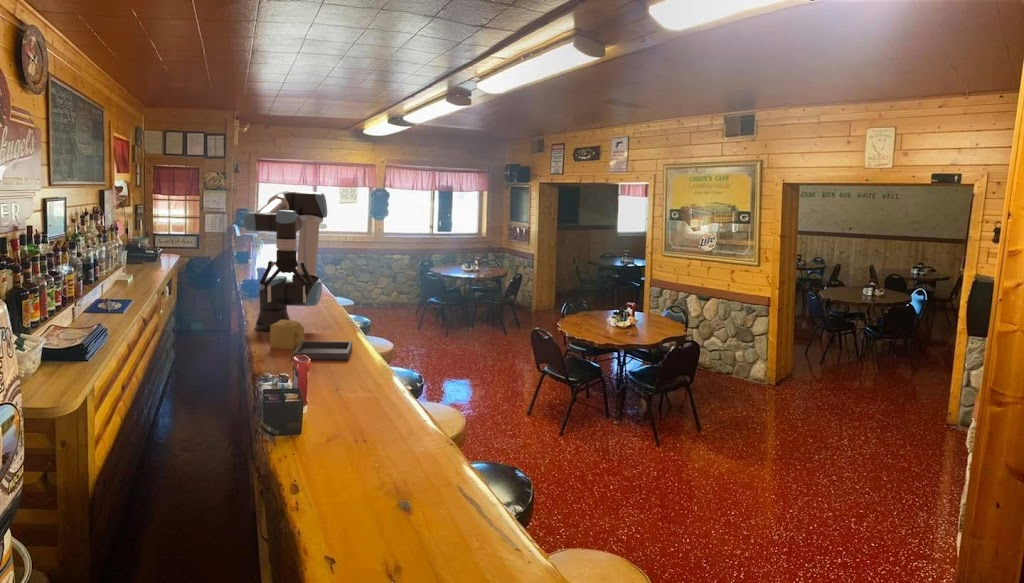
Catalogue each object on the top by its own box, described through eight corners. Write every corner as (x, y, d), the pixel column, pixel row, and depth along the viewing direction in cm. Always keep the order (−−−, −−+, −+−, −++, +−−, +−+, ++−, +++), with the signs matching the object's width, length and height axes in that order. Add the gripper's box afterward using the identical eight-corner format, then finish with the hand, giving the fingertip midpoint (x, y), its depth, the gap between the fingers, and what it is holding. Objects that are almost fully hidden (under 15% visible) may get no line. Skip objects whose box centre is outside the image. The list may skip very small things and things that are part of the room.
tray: (301, 348, 261) (301, 341, 261) (352, 348, 264) (352, 341, 264) (293, 360, 244) (293, 352, 243) (347, 360, 247) (347, 353, 246)
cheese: (305, 344, 268) (305, 320, 266) (293, 350, 257) (293, 326, 256) (281, 342, 269) (280, 319, 267) (268, 348, 258) (268, 324, 257)
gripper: (251, 249, 251) (252, 303, 254) (317, 251, 255) (317, 304, 258) (255, 247, 258) (256, 299, 262) (320, 249, 262) (320, 300, 266)
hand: (287, 302), depth 260 cm, fingers open, 13 cm apart
